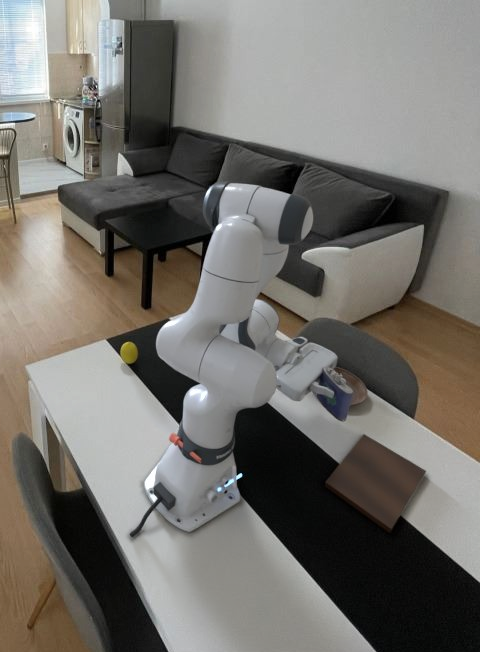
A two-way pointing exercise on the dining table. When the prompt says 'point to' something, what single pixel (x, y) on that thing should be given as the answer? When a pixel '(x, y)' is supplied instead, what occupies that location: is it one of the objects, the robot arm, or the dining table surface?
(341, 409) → the flask
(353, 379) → the saucer
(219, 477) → the robot arm
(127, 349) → the lemon
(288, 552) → the dining table surface
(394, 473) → the cutting board
